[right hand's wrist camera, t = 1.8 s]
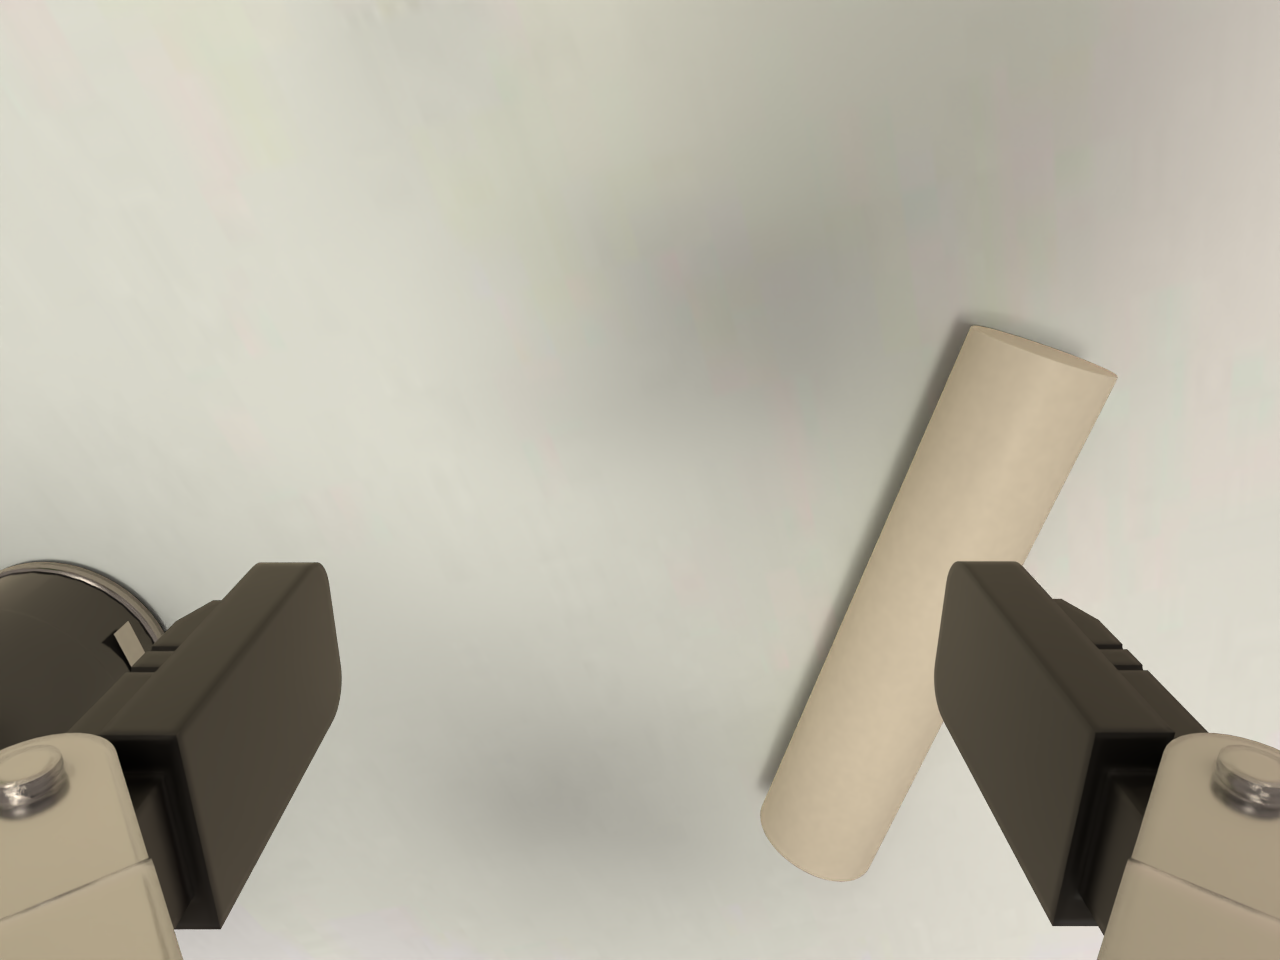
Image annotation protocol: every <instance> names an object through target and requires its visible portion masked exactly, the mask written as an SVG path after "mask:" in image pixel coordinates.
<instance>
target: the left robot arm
mask: <svg viewBox="0 0 1280 960" xmlns="http://www.w3.org/2000/svg"><path fill="white" fill-rule="evenodd" d="M163 634H164V631H163V630H162V628H161V626H160V625H159V623H158V622H157V620H156V619H155V617H154V616H153V615H152V614H151V612H150V611H149V610H148V609H147V608H146V607H145V606H144V605H143V604H142V603H141V602H140V601H139V600H138V599H137V598H136V597H135V596H133V595H132V594H131V593H130V592H129V591H127V590H126V589H124V588H123V587H122V586H120V585H118V584H117V583H115V582H113V581H112V580H110V579H108V578H106V577H104V576H102V575H100V574H98V573H95V572H93V571H90V570H87V569H84V568H81V567H78V566H73V565H69V564H63V563H56V562H31V563H24V564H19V565H15V566H11V567H8V568H5V569H3V570H1V571H0V750H2V749H5V748H7V747H10V746H12V745H15V744H18V743H21V742H24V741H27V740H31V739H34V738H38V737H43V736H48V735H54V734H62V733H67V731H68V730H69V729H70V728H71V727H72V726H73V725H74V724H75V723H76V722H77V721H78V720H79V719H80V718H81V717H82V716H83V715H84V714H85V713H86V712H87V711H88V710H89V709H90V708H91V707H92V706H93V705H94V704H95V703H96V702H97V701H98V700H99V699H100V698H101V697H102V696H103V695H104V694H105V693H106V692H107V691H108V690H109V689H110V688H111V687H112V686H113V685H114V684H115V683H116V682H117V681H118V680H119V679H120V678H121V677H122V676H123V675H124V674H125V673H126V672H131V666H132V665H133V664H134V663H135V662H136V661H137V660H138V659H139V658H140V657H141V656H142V655H143V654H144V653H145V652H146V651H151V649H152V647H151V646H152V645H153V644H154V643H155V642H156V641H157V640H158V639H159V638H160V637H161V636H162V635H163Z"/></svg>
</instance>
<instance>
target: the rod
mask: <svg viewBox="0 0 1280 960" xmlns="http://www.w3.org/2000/svg"><path fill="white" fill-rule="evenodd" d="M1117 378H1118V376H1117V375H1116V374H1114V373H1113V372H1111V371H1109V370H1107V369H1105V368H1103V367H1100V366H1098V365H1096V364H1093V363H1091V362H1089V361H1086V360H1084V359H1081V358H1078V357H1076V356H1073V355H1071V354H1068V353H1065V352H1062V351H1060V350H1057V349H1054V348H1051V347H1049V346H1046V345H1043V344H1040V343H1037V342H1034V341H1031V340H1028V339H1025V338H1022V337H1018V336H1015V335H1012V334H1009V333H1005V332H1002V331H998V330H995V329H991V328H987V327H982V326H976V325H974V326H971V327H970V330H969V332H968V334H967V337H966V339H965V341H964V343H963V346H962V348H961V350H960V353H959V355H958V357H957V359H956V362H955V364H954V366H953V369H952V371H951V373H950V376H949V378H948V380H947V382H946V385H945V387H944V389H943V392H942V394H941V396H940V399H939V401H938V403H937V405H936V408H935V410H934V412H933V415H932V417H931V419H930V421H929V424H928V426H927V428H926V431H925V433H924V435H923V438H922V440H921V442H920V444H919V447H918V449H917V451H916V454H915V456H914V458H913V460H912V463H911V465H910V467H909V470H908V472H907V474H906V477H905V479H904V481H903V483H902V486H901V488H900V490H899V493H898V495H897V497H896V500H895V502H894V504H893V506H892V509H891V511H890V513H889V516H888V518H887V520H886V522H885V525H884V527H883V529H882V532H881V534H880V536H879V539H878V541H877V543H876V545H875V548H874V550H873V552H872V555H871V557H870V559H869V562H868V564H867V566H866V568H865V571H864V573H863V575H862V578H861V580H860V582H859V584H858V587H857V589H856V591H855V594H854V596H853V598H852V601H851V603H850V605H849V607H848V610H847V612H846V614H845V617H844V619H843V621H842V623H841V626H840V628H839V630H838V633H837V635H836V637H835V640H834V642H833V644H832V646H831V649H830V651H829V653H828V656H827V658H826V660H825V663H824V665H823V667H822V669H821V672H820V674H819V676H818V679H817V681H816V683H815V685H814V688H813V690H812V692H811V695H810V697H809V699H808V702H807V704H806V706H805V708H804V711H803V713H802V715H801V718H800V720H799V722H798V725H797V727H796V729H795V731H794V734H793V736H792V738H791V741H790V743H789V745H788V747H787V750H786V752H785V754H784V757H783V759H782V761H781V764H780V766H779V768H778V770H777V773H776V775H775V777H774V780H773V782H772V784H771V786H770V789H769V791H768V793H767V796H766V798H765V800H764V803H763V805H762V808H761V813H760V817H761V824H762V828H763V830H764V832H765V834H766V836H767V838H768V840H769V841H770V842H771V844H772V845H773V846H774V848H775V849H776V850H777V851H778V852H779V853H780V854H781V855H782V856H783V857H784V858H786V859H787V860H788V861H789V862H791V863H792V864H793V865H795V866H796V867H798V868H800V869H801V870H803V871H805V872H807V873H809V874H811V875H814V876H816V877H819V878H822V879H826V880H831V881H840V882H843V881H851V880H855V879H857V878H859V877H861V876H862V875H864V874H865V873H866V872H867V870H868V869H869V867H870V865H871V863H872V861H873V859H874V857H875V855H876V853H877V851H878V849H879V847H880V845H881V843H882V841H883V839H884V837H885V835H886V833H887V831H888V829H889V827H890V825H891V824H892V822H893V820H894V818H895V816H896V814H897V812H898V810H899V808H900V806H901V804H902V802H903V800H904V798H905V796H906V794H907V792H908V790H909V788H910V786H911V784H912V782H913V780H914V778H915V776H916V774H917V772H918V770H919V768H920V766H921V764H922V762H923V760H924V759H925V757H926V755H927V753H928V751H929V749H930V747H931V745H932V743H933V741H934V739H935V737H936V735H937V733H938V731H939V729H940V727H941V725H942V723H943V719H942V717H941V715H940V712H939V709H938V705H937V701H936V696H935V688H934V667H935V659H936V652H937V645H938V638H939V631H940V623H941V616H942V609H943V602H944V595H945V588H946V581H947V576H948V573H949V570H950V568H951V566H952V564H954V563H955V562H957V561H1016V562H1018V563H1020V564H1021V565H1023V564H1024V562H1025V560H1026V558H1027V556H1028V554H1029V552H1030V550H1031V548H1032V546H1033V544H1034V542H1035V540H1036V538H1037V536H1038V534H1039V532H1040V530H1041V528H1042V526H1043V524H1044V522H1045V520H1046V518H1047V516H1048V514H1049V512H1050V510H1051V508H1052V506H1053V504H1054V502H1055V500H1056V498H1057V497H1058V495H1059V493H1060V491H1061V489H1062V487H1063V485H1064V483H1065V481H1066V479H1067V477H1068V475H1069V473H1070V471H1071V469H1072V467H1073V465H1074V463H1075V461H1076V459H1077V457H1078V455H1079V453H1080V451H1081V449H1082V447H1083V445H1084V443H1085V441H1086V439H1087V437H1088V435H1089V433H1090V432H1091V430H1092V428H1093V426H1094V424H1095V422H1096V420H1097V418H1098V416H1099V414H1100V412H1101V410H1102V408H1103V406H1104V404H1105V402H1106V400H1107V398H1108V396H1109V394H1110V392H1111V390H1112V388H1113V386H1114V384H1115V382H1116V380H1117Z"/></svg>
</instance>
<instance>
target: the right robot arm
mask: <svg viewBox="0 0 1280 960" xmlns="http://www.w3.org/2000/svg"><path fill="white" fill-rule="evenodd" d="M151 647H152V649H151V651H146V652H145V653H144V654H143V655H142V656H141V657H140V658H139V659H138V660H137V661H136V662H135V663H134V664H133V665H132V666H131V672H126V673H125V674H124V675H123V676H122V677H121V678H120V679H119V680H118V681H117V682H116V683H115V684H114V685H113V686H112V687H111V688H110V689H109V690H108V691H107V692H106V693H105V694H104V695H103V696H102V697H101V698H100V699H99V700H98V701H97V702H96V703H95V704H94V705H93V706H92V707H91V708H90V709H89V710H88V711H87V712H86V713H85V714H84V715H83V716H82V717H81V718H80V719H79V720H78V721H77V722H76V723H75V724H74V725H73V726H72V727H71V728H70V729H69V730H68V731H67V733H62V734H54V735H48V736H43V737H38V738H34V739H31V740H27V741H24V742H21V743H18V744H15V745H12V746H10V747H7V748H5V749H2V750H0V960H183V958H182V954H181V951H180V948H179V945H178V941H177V938H176V935H175V932H174V929H221V928H222V926H223V924H224V922H225V920H226V918H227V917H228V915H229V913H230V911H231V909H232V907H233V905H234V904H235V902H236V900H237V898H238V896H239V894H240V892H241V891H242V889H243V887H244V885H245V883H246V881H247V879H248V878H249V876H250V874H251V872H252V870H253V868H254V866H255V865H256V863H257V861H258V859H259V857H260V855H261V853H262V852H263V850H264V848H265V846H266V844H267V842H268V840H269V839H270V837H271V835H272V833H273V831H274V829H275V827H276V826H277V824H278V822H279V820H280V818H281V816H282V814H283V813H284V811H285V809H286V807H287V805H288V803H289V801H290V799H291V798H292V796H293V794H294V792H295V790H296V788H297V786H298V785H299V783H300V781H301V779H302V777H303V775H304V773H305V772H306V770H307V768H308V766H309V764H310V762H311V760H312V759H313V757H314V755H315V753H316V751H317V749H318V747H319V746H320V744H321V742H322V740H323V738H324V736H325V734H326V733H327V731H328V729H329V727H330V725H331V723H332V721H333V719H334V717H335V715H336V712H337V709H338V705H339V700H340V694H341V680H342V677H341V664H340V657H339V650H338V643H337V636H336V629H335V622H334V615H333V608H332V601H331V594H330V587H329V581H328V577H327V573H326V571H325V569H324V567H323V566H322V565H321V564H320V563H257V564H256V565H254V566H253V567H252V568H251V569H250V571H249V572H248V573H247V574H246V575H245V576H244V577H243V578H242V579H241V580H240V581H239V582H238V583H237V585H236V586H235V587H234V588H233V589H232V590H231V591H230V592H229V593H228V594H227V595H226V596H225V597H224V599H223V600H213V601H211V602H209V603H208V604H206V605H204V606H202V607H201V608H199V609H197V610H195V611H194V612H192V613H190V614H188V615H186V616H185V617H183V618H181V619H179V620H178V621H176V622H175V623H174V624H173V625H172V626H171V627H170V628H169V629H168V630H167V631H166V632H165V633H164V634H163V635H162V636H161V637H160V638H159V639H158V640H157V641H156V642H155V643H154V644H153V645H152V646H151ZM934 688H935V696H936V701H937V705H938V709H939V712H940V715H941V717H942V719H943V721H944V723H945V725H946V727H947V728H948V730H949V732H950V734H951V736H952V738H953V740H954V742H955V744H956V745H957V747H958V749H959V751H960V753H961V755H962V757H963V759H964V760H965V762H966V764H967V766H968V768H969V770H970V772H971V774H972V775H973V777H974V779H975V781H976V783H977V785H978V787H979V789H980V791H981V792H982V794H983V796H984V798H985V800H986V802H987V804H988V806H989V807H990V809H991V811H992V813H993V815H994V817H995V819H996V821H997V823H998V824H999V826H1000V828H1001V830H1002V832H1003V834H1004V836H1005V838H1006V839H1007V841H1008V843H1009V845H1010V847H1011V849H1012V851H1013V853H1014V854H1015V856H1016V858H1017V860H1018V862H1019V864H1020V866H1021V868H1022V870H1023V871H1024V873H1025V875H1026V877H1027V879H1028V881H1029V883H1030V885H1031V886H1032V888H1033V890H1034V892H1035V894H1036V896H1037V898H1038V900H1039V902H1040V903H1041V905H1042V907H1043V909H1044V911H1045V913H1046V915H1047V917H1048V918H1049V920H1050V922H1051V924H1052V926H1099V928H1100V930H1101V931H1102V933H1103V935H1104V938H1103V941H1102V945H1101V948H1100V951H1099V954H1098V958H1097V960H1280V750H1278V749H1275V748H1273V747H1270V746H1268V745H1265V744H1262V743H1259V742H1256V741H1253V740H1249V739H1246V738H1242V737H1237V736H1232V735H1226V734H1218V733H1208V732H1207V731H1206V730H1205V729H1204V728H1203V727H1202V726H1201V724H1200V723H1199V722H1198V721H1197V720H1196V719H1195V718H1194V717H1193V716H1192V715H1191V714H1190V713H1189V712H1188V711H1187V710H1186V709H1185V708H1184V707H1183V706H1182V705H1181V704H1180V703H1179V702H1178V701H1177V700H1176V699H1175V698H1174V697H1173V696H1172V695H1171V694H1170V693H1169V692H1168V691H1167V690H1166V689H1165V688H1164V687H1163V686H1162V685H1161V683H1160V682H1159V681H1158V680H1157V679H1156V678H1155V677H1154V676H1153V675H1152V674H1151V673H1150V672H1149V671H1148V670H1143V668H1142V664H1141V663H1140V662H1139V661H1138V660H1137V659H1136V658H1135V657H1134V656H1133V655H1132V654H1131V653H1130V652H1129V651H1128V650H1127V649H1123V648H1122V644H1121V642H1120V641H1119V640H1118V639H1117V638H1116V637H1115V636H1114V635H1113V634H1112V633H1111V632H1110V631H1109V630H1108V629H1107V628H1106V627H1105V626H1104V625H1103V624H1102V623H1101V622H1100V621H1099V620H1098V619H1096V618H1094V617H1092V616H1091V615H1089V614H1087V613H1085V612H1084V611H1082V610H1080V609H1078V608H1077V607H1075V606H1073V605H1071V604H1069V603H1068V602H1066V601H1064V600H1062V599H1052V598H1051V597H1050V596H1049V595H1048V593H1047V592H1046V591H1045V590H1044V589H1043V588H1042V587H1041V586H1040V585H1039V584H1038V583H1037V581H1036V580H1035V579H1034V578H1033V577H1032V576H1031V575H1030V574H1029V573H1028V572H1027V571H1026V569H1025V568H1024V567H1023V566H1022V565H1021V564H1020V563H1018V562H1016V561H957V562H955V563H954V564H952V566H951V568H950V570H949V573H948V576H947V581H946V588H945V595H944V602H943V609H942V616H941V623H940V631H939V638H938V645H937V652H936V659H935V667H934Z"/></svg>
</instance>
